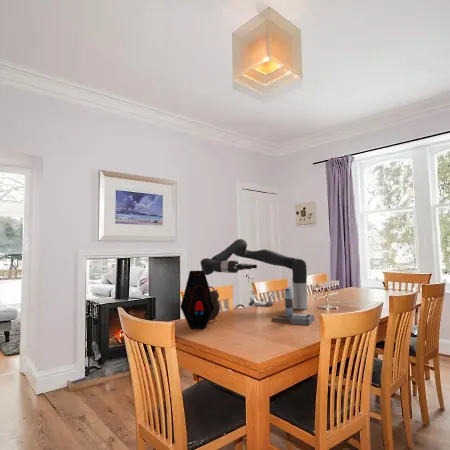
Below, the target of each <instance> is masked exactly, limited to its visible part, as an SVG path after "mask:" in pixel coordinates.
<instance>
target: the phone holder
mask: <svg viewBox="0 0 450 450" xmlns="http://www.w3.org/2000/svg"><path fill="white" fill-rule="evenodd" d="M275 293H276V292H273V291H271V292H270V294H268V295H267V297H268V299H269V300H267V301H265V298H261V300H258V297H257V296H256V294H252V295H250V296H249V303H248V306H249V307H252V306H265V307H267V308H269V307H270V306H271V305H273V304H274V302H275V301H274V300H272V299H271V298H273V297H276V294H275Z"/></svg>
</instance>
